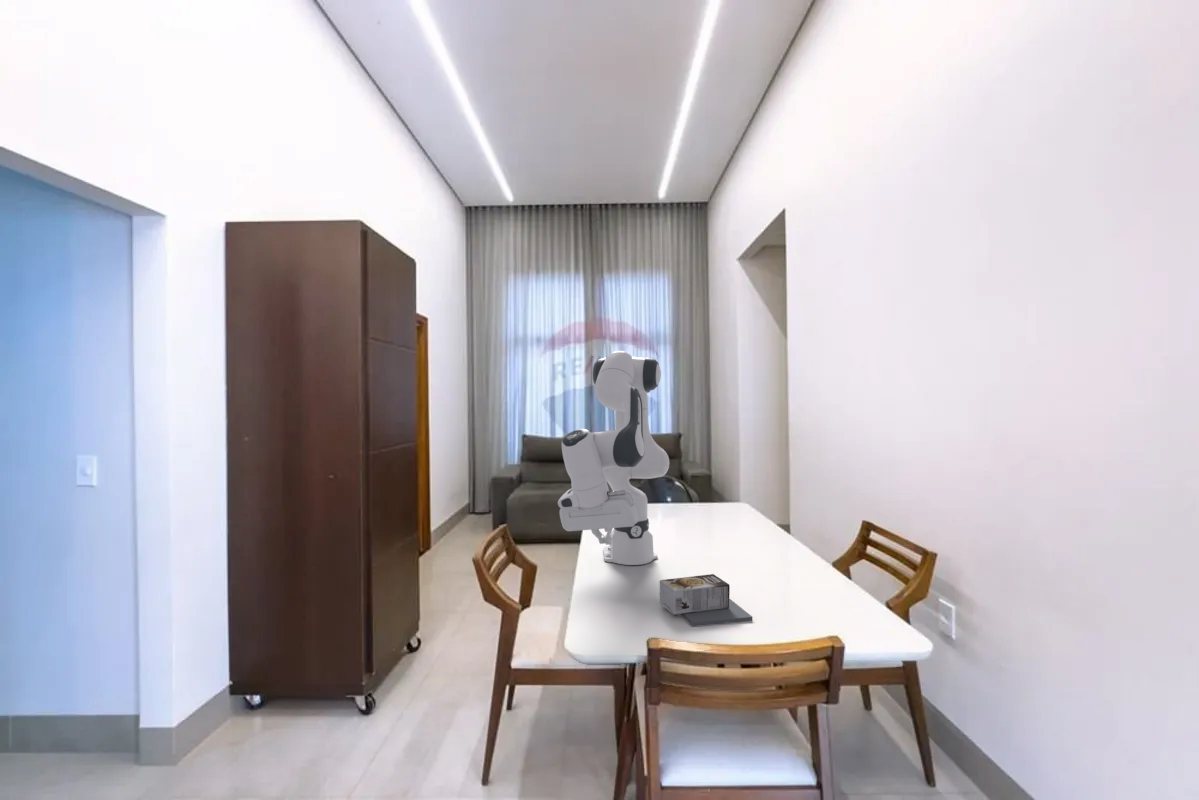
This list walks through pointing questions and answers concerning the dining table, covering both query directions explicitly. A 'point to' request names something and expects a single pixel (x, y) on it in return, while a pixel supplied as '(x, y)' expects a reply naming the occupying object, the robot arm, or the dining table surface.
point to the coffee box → (694, 594)
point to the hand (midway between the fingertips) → (606, 542)
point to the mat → (718, 616)
